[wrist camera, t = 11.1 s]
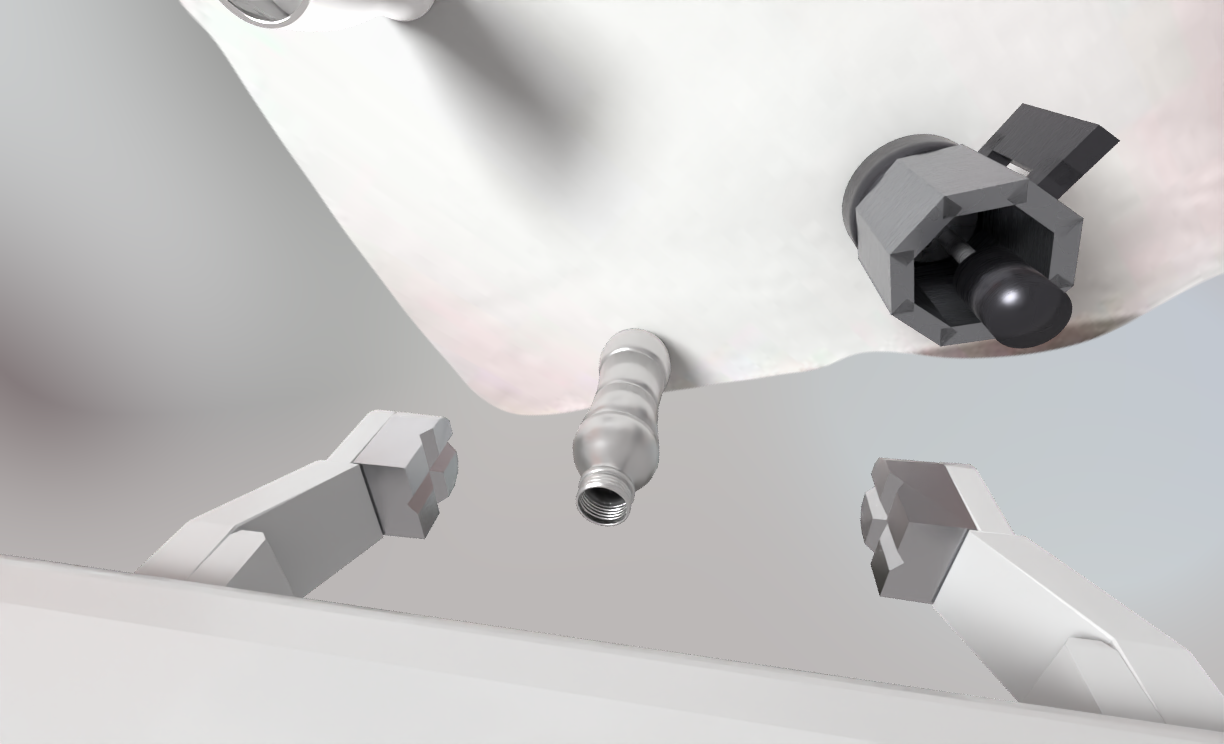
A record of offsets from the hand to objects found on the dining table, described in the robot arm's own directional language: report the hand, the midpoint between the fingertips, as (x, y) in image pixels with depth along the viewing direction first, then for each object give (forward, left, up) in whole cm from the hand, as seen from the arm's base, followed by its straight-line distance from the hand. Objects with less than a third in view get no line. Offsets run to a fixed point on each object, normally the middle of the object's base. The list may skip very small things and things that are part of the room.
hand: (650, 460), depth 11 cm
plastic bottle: (+19, +6, -37) cm, 42 cm away
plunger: (-4, +16, -31) cm, 35 cm away
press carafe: (-6, +16, -37) cm, 41 cm away
